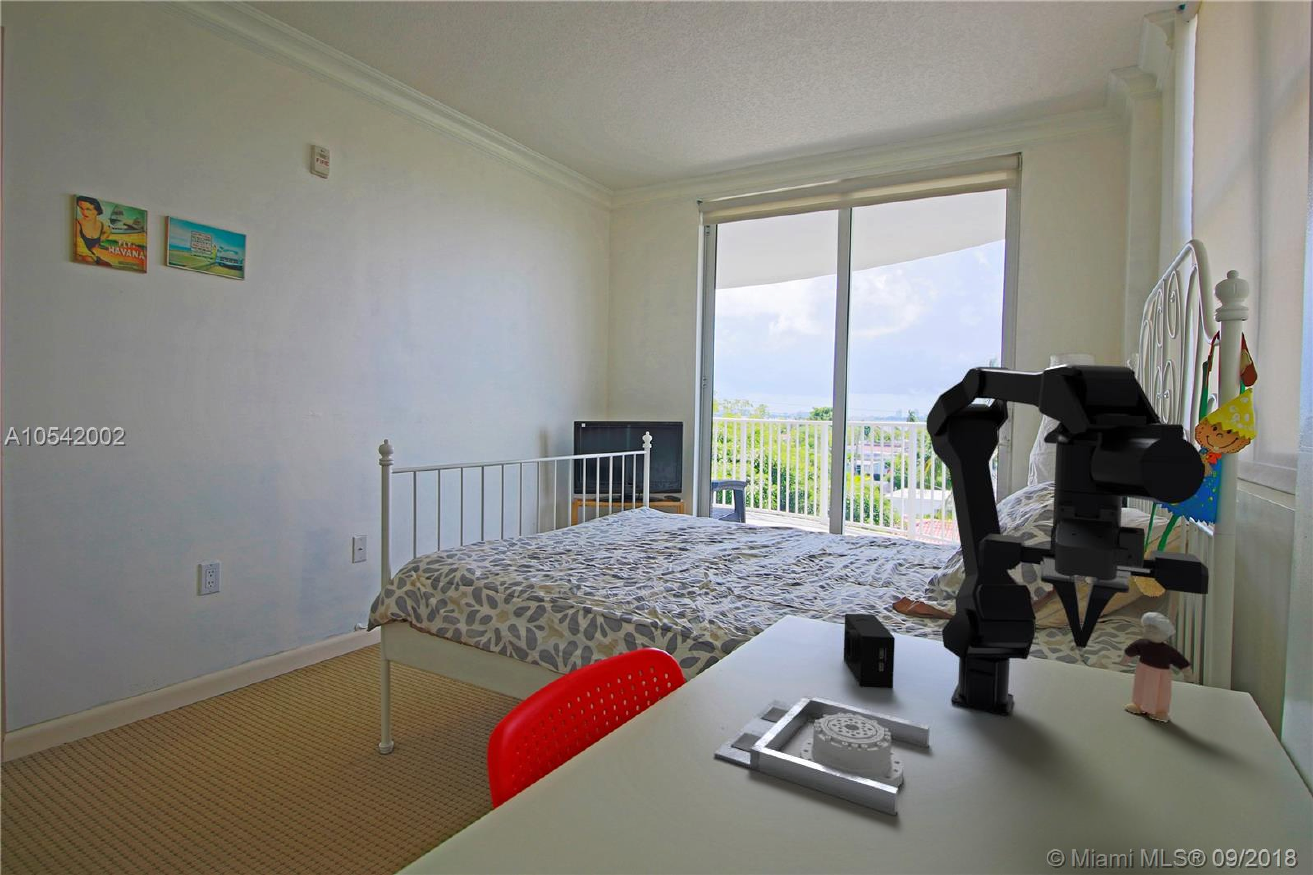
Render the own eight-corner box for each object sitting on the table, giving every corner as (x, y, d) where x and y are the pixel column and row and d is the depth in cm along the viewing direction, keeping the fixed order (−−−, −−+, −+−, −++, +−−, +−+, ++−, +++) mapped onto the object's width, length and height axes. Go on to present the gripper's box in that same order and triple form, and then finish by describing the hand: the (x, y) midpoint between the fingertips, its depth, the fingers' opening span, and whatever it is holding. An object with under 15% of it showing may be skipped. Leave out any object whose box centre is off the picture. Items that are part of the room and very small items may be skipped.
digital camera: (834, 659, 99) (836, 612, 99) (872, 660, 99) (874, 613, 98) (851, 687, 89) (852, 634, 88) (892, 689, 88) (894, 636, 88)
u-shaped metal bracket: (774, 703, 83) (774, 687, 83) (928, 744, 73) (929, 726, 73) (714, 756, 69) (714, 737, 69) (894, 815, 60) (895, 793, 59)
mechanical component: (800, 790, 64) (910, 805, 62) (801, 744, 64) (912, 758, 62) (799, 741, 74) (895, 752, 71) (801, 701, 73) (896, 712, 71)
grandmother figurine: (1112, 710, 83) (1117, 609, 83) (1118, 701, 86) (1122, 603, 86) (1191, 731, 78) (1196, 623, 77) (1194, 721, 81) (1200, 617, 80)
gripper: (973, 490, 65) (967, 649, 65) (1223, 508, 55) (1214, 696, 55) (987, 482, 74) (981, 622, 75) (1202, 496, 64) (1194, 657, 65)
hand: (1080, 646), depth 67 cm, fingers closed
